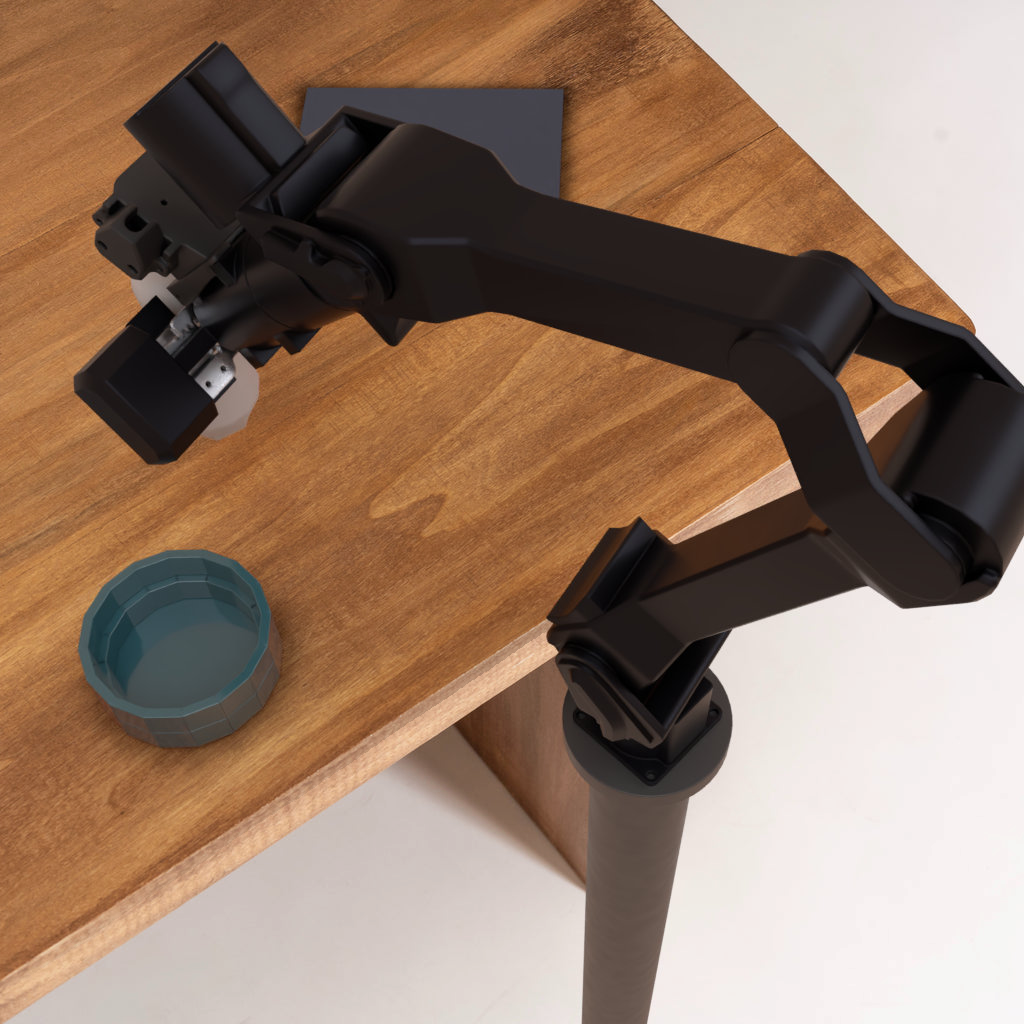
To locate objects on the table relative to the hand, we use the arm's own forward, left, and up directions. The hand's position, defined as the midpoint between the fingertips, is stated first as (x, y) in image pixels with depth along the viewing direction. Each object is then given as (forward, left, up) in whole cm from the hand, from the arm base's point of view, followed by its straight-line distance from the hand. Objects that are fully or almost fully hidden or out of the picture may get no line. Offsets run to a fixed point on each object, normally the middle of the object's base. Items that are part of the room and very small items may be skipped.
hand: (176, 332), depth 81 cm
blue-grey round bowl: (-10, +10, -14) cm, 20 cm away
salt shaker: (-1, 0, -7) cm, 7 cm away
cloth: (+9, -27, -14) cm, 31 cm away
